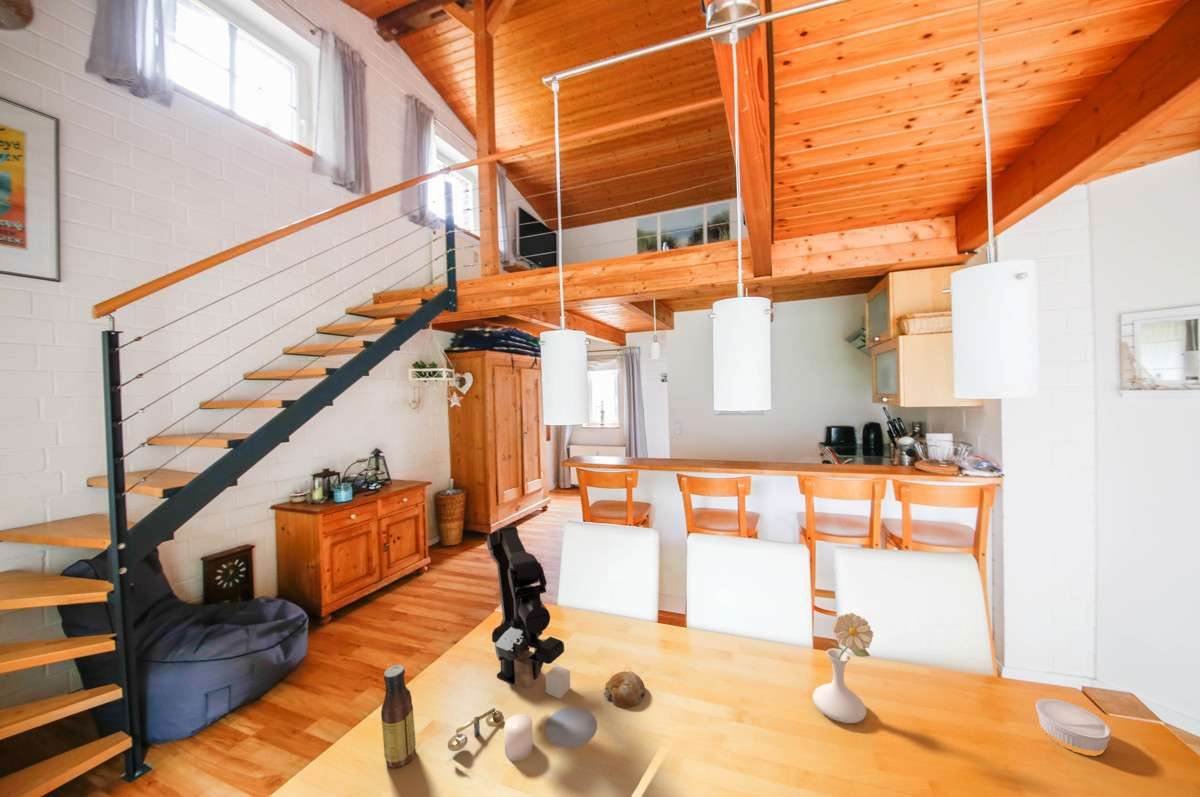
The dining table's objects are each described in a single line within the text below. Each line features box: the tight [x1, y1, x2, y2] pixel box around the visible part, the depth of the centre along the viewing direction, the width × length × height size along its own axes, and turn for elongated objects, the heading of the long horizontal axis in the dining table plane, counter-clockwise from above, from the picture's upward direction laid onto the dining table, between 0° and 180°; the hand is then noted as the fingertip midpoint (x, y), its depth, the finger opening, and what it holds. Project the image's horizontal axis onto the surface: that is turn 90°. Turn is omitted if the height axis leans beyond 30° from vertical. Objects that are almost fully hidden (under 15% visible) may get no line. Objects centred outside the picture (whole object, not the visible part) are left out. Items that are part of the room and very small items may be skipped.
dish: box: [544, 706, 598, 749], centre depth 101 cm, size 12×12×1 cm
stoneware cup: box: [503, 713, 534, 762], centre depth 95 cm, size 6×6×7 cm
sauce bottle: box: [380, 664, 417, 768], centre depth 95 cm, size 6×6×20 cm
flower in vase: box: [811, 612, 874, 724], centre depth 104 cm, size 13×11×25 cm
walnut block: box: [514, 650, 542, 691], centre depth 106 cm, size 4×4×6 cm
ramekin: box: [1035, 698, 1112, 751], centre depth 95 cm, size 11×11×5 cm
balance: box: [447, 707, 504, 752], centre depth 99 cm, size 15×4×6 cm, turn 148°
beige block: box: [545, 664, 571, 699], centre depth 113 cm, size 4×4×6 cm
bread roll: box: [603, 670, 646, 709], centre depth 111 cm, size 10×10×8 cm
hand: (528, 675), depth 106 cm, fingers closed on walnut block, 4 cm apart
